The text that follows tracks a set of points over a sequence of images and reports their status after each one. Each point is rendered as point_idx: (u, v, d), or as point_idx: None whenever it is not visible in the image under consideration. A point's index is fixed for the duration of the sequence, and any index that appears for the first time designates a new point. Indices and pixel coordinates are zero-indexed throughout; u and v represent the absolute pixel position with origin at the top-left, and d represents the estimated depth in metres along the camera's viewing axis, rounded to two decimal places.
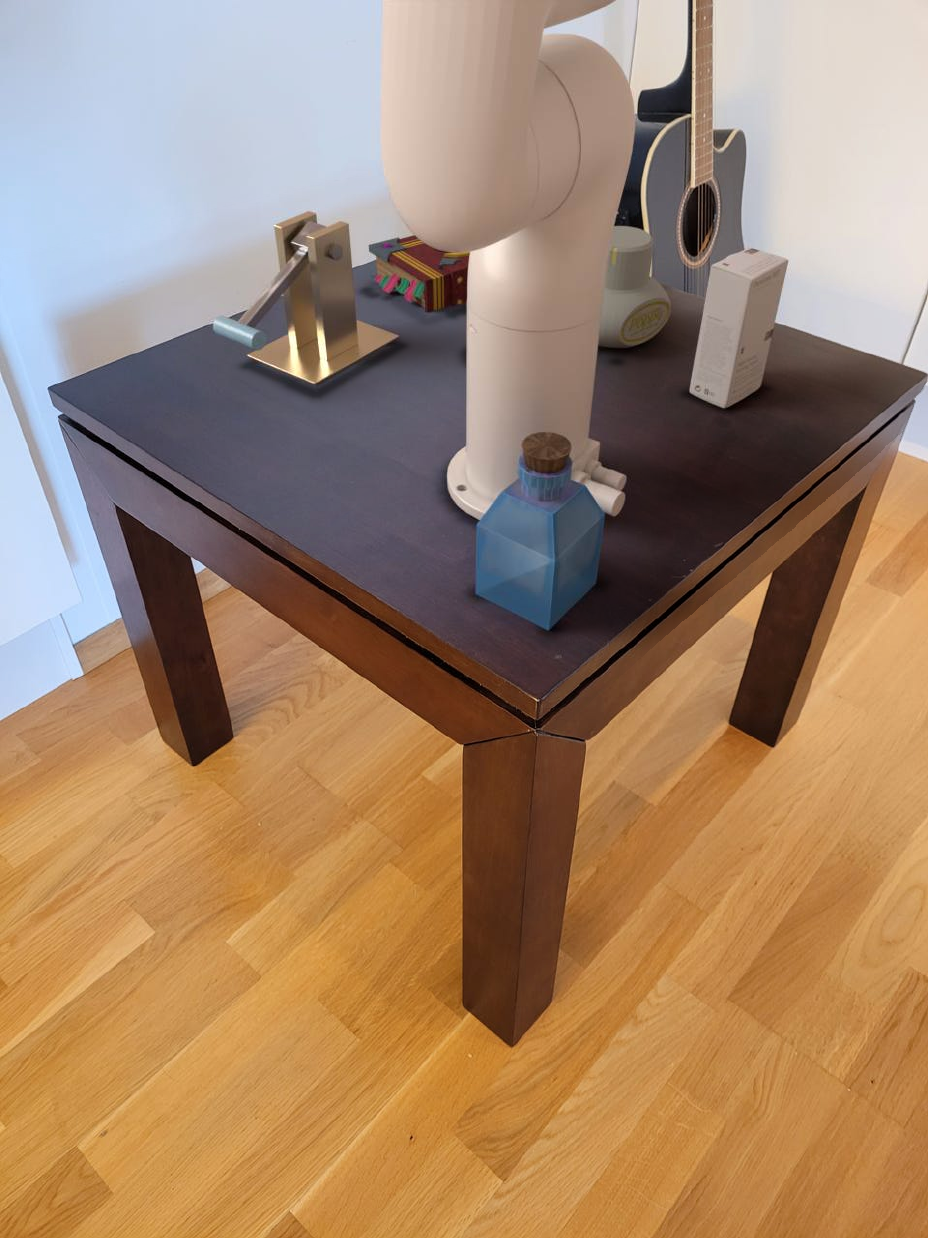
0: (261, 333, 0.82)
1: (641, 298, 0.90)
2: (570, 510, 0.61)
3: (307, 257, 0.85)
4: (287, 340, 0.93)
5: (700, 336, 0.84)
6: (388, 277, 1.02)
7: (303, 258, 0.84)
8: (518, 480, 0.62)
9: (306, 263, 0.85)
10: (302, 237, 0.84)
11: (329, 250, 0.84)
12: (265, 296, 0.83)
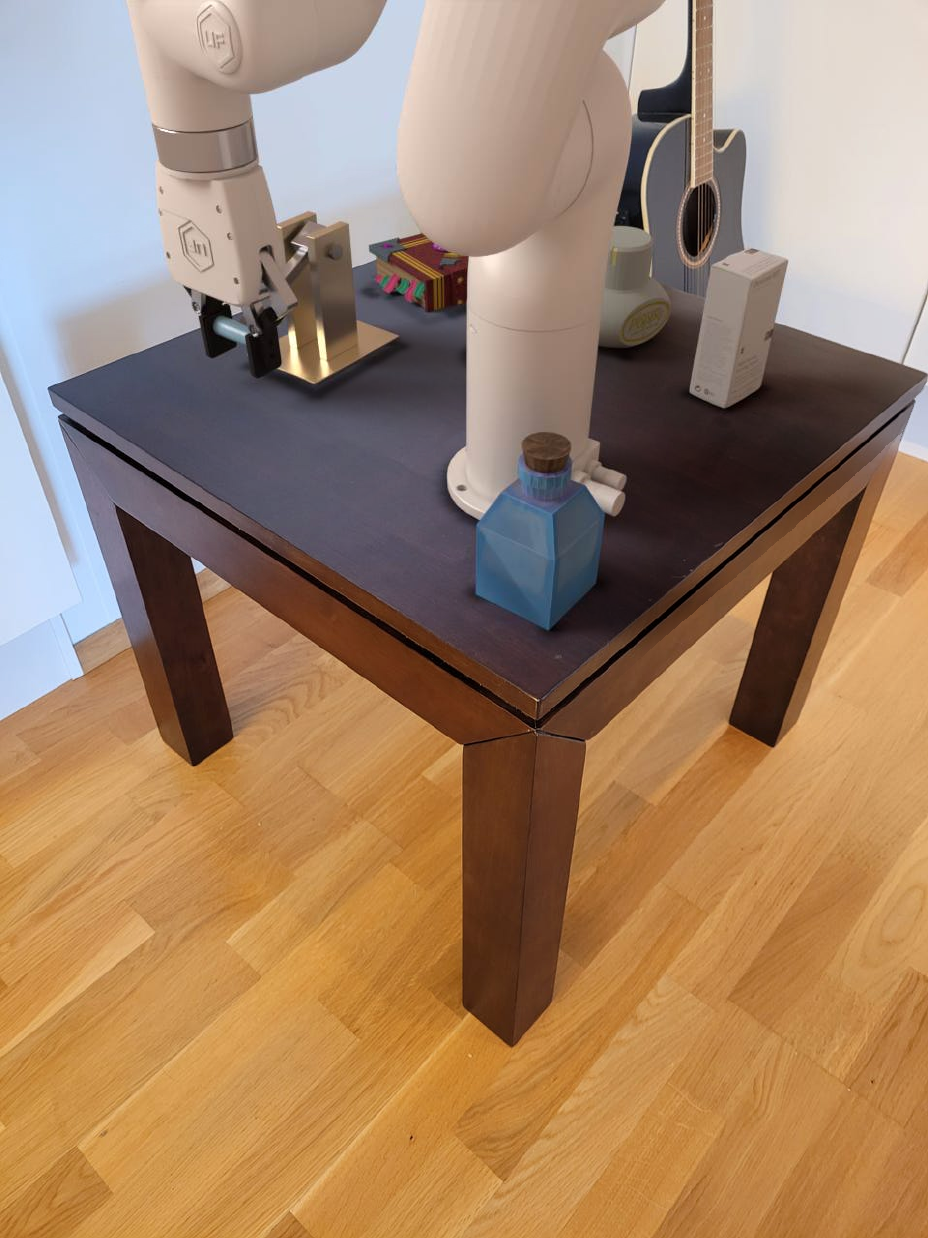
0: None
1: (641, 298, 0.90)
2: (570, 510, 0.61)
3: (307, 257, 0.85)
4: (287, 340, 0.93)
5: (700, 336, 0.84)
6: (388, 277, 1.02)
7: (303, 258, 0.84)
8: (518, 480, 0.62)
9: (306, 263, 0.85)
10: (302, 237, 0.84)
11: (329, 250, 0.84)
12: None
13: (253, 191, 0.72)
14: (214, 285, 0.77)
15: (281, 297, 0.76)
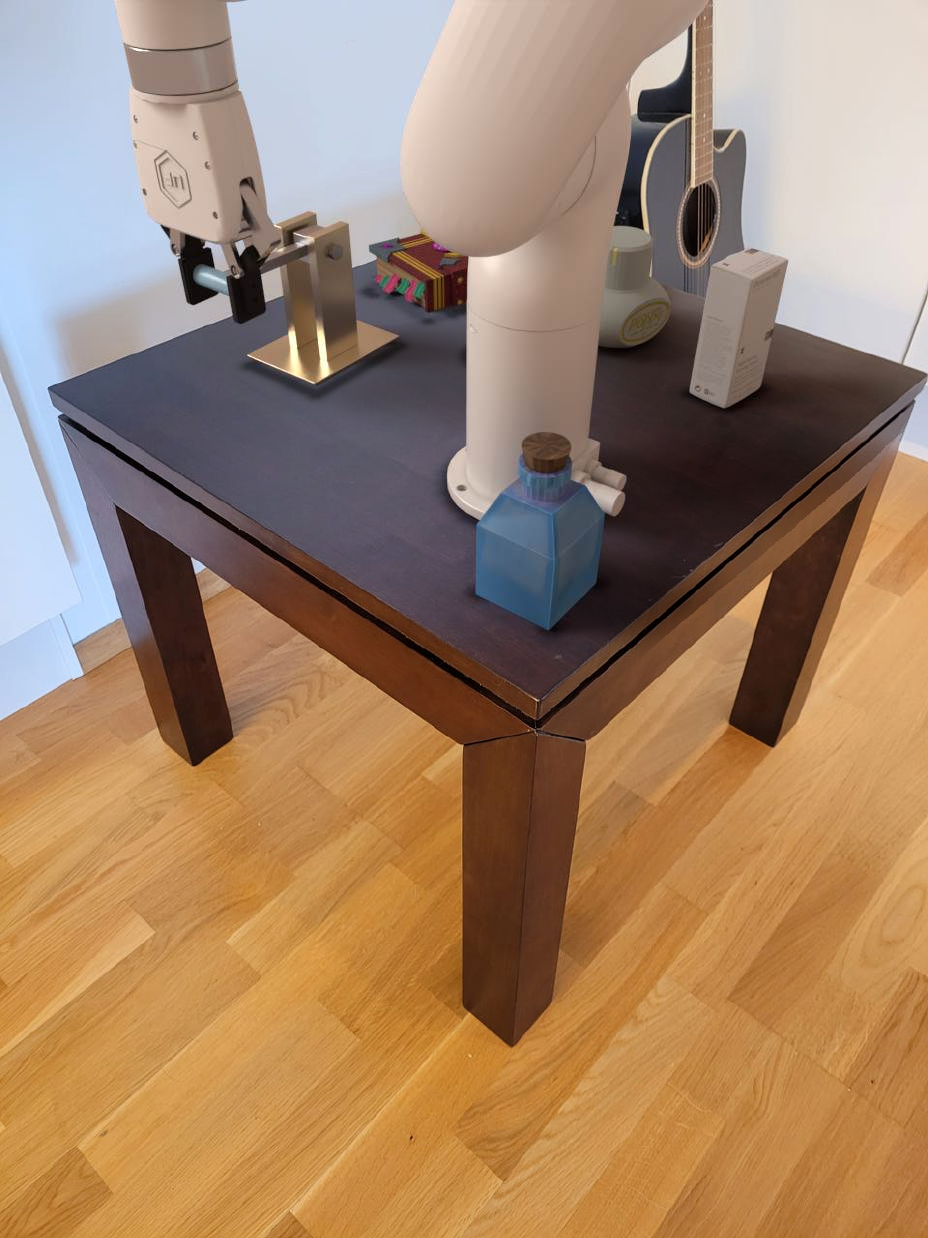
0: None
1: (641, 298, 0.90)
2: (570, 510, 0.61)
3: (305, 250, 0.84)
4: (287, 340, 0.93)
5: (700, 336, 0.84)
6: (388, 277, 1.02)
7: (301, 247, 0.84)
8: (518, 480, 0.62)
9: (302, 255, 0.84)
10: (305, 231, 0.84)
11: (329, 250, 0.84)
12: None
13: (232, 116, 0.68)
14: (192, 221, 0.73)
15: (263, 233, 0.72)
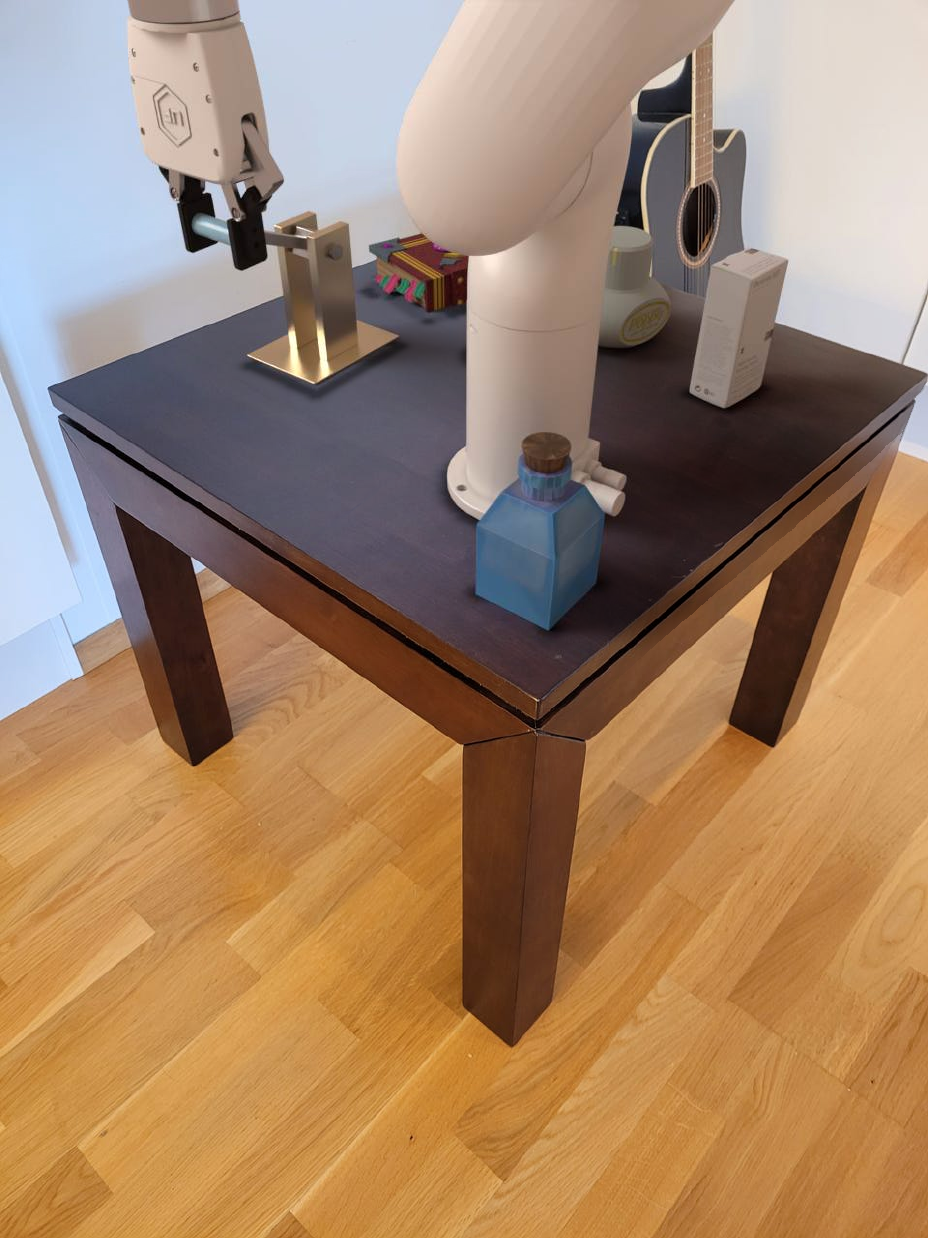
0: None
1: (641, 298, 0.90)
2: (570, 510, 0.61)
3: (305, 243, 0.84)
4: (287, 340, 0.93)
5: (700, 336, 0.84)
6: (388, 277, 1.02)
7: (303, 238, 0.83)
8: (518, 480, 0.62)
9: (302, 247, 0.84)
10: (309, 228, 0.85)
11: (329, 250, 0.84)
12: None
13: (233, 47, 0.66)
14: (192, 160, 0.70)
15: (265, 172, 0.70)
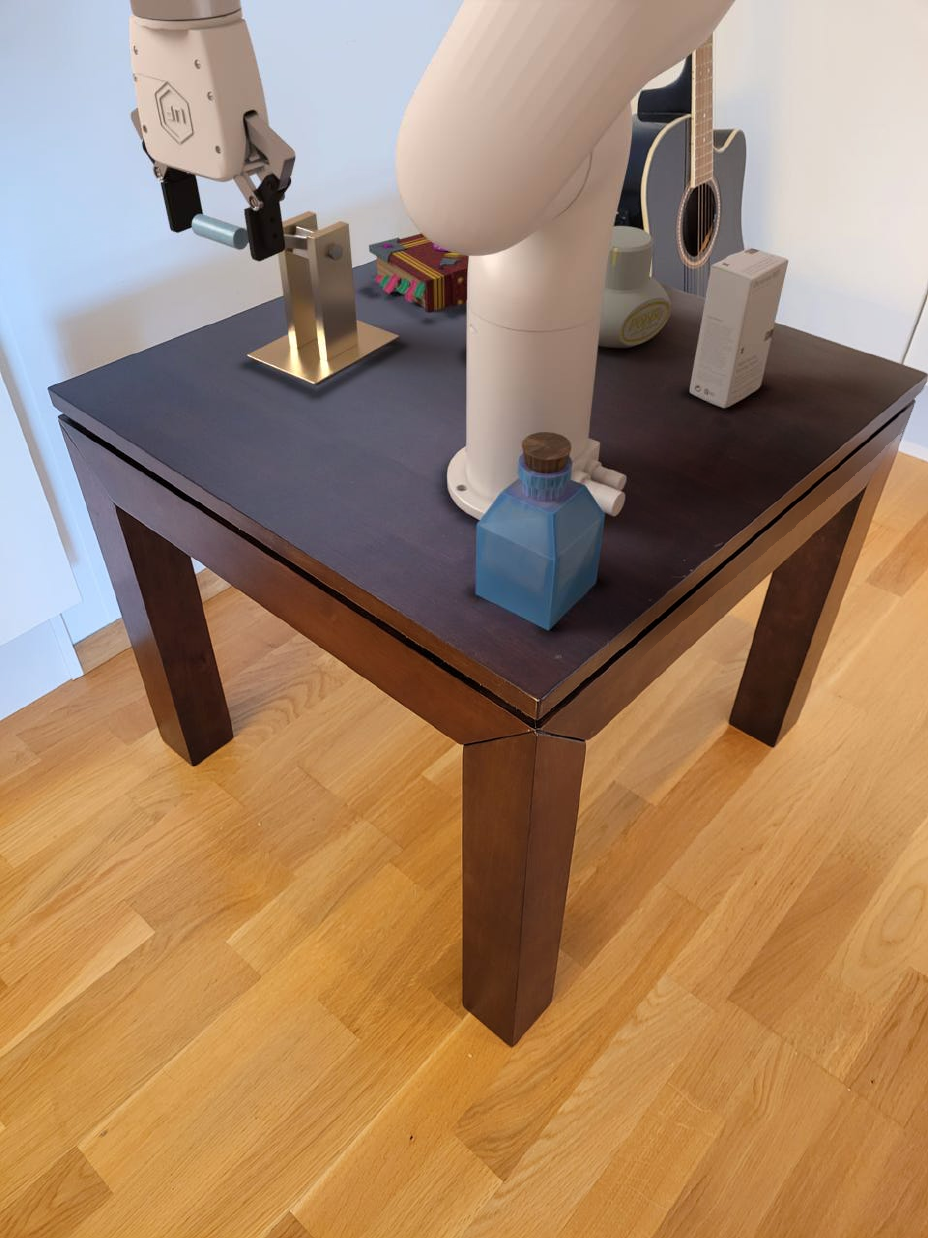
0: (247, 235, 0.76)
1: (641, 298, 0.90)
2: (570, 510, 0.61)
3: (305, 243, 0.84)
4: (287, 340, 0.93)
5: (700, 336, 0.84)
6: (388, 277, 1.02)
7: (303, 239, 0.83)
8: (518, 480, 0.62)
9: (302, 247, 0.84)
10: (309, 229, 0.85)
11: (329, 250, 0.84)
12: None
13: (235, 44, 0.65)
14: (194, 157, 0.70)
15: (274, 149, 0.68)
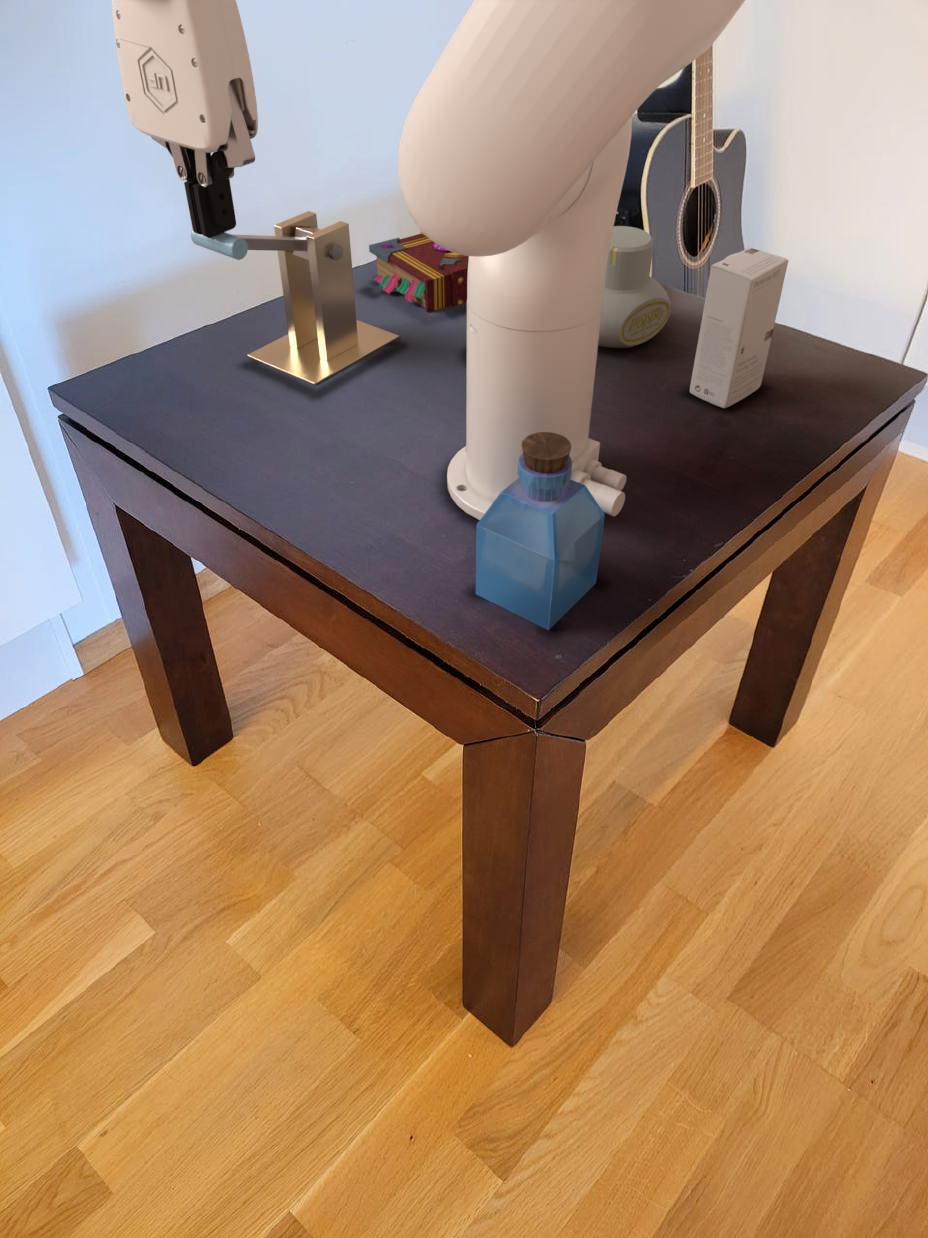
0: (245, 244, 0.76)
1: (641, 298, 0.90)
2: (570, 510, 0.61)
3: (305, 244, 0.84)
4: (287, 340, 0.93)
5: (700, 336, 0.84)
6: (388, 277, 1.02)
7: (302, 240, 0.84)
8: (518, 480, 0.62)
9: (302, 248, 0.84)
10: (308, 229, 0.85)
11: (329, 250, 0.84)
12: (257, 236, 0.80)
13: (220, 9, 0.64)
14: (178, 127, 0.68)
15: (239, 150, 0.69)
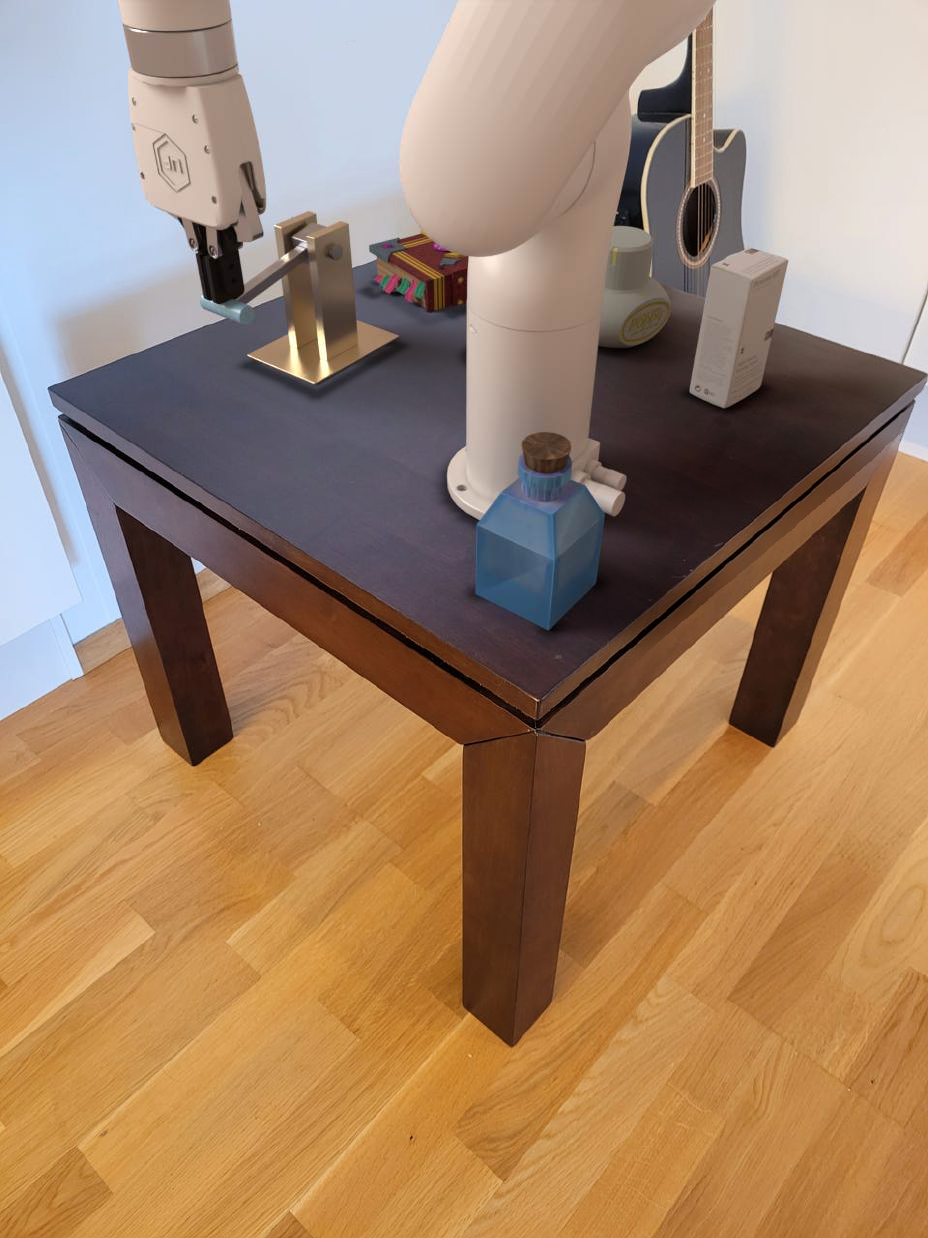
0: (250, 308, 0.79)
1: (641, 298, 0.90)
2: (570, 510, 0.61)
3: (306, 253, 0.85)
4: (287, 340, 0.93)
5: (700, 336, 0.84)
6: (388, 277, 1.02)
7: (302, 252, 0.84)
8: (518, 480, 0.62)
9: (304, 259, 0.85)
10: (304, 234, 0.84)
11: (329, 250, 0.84)
12: (259, 279, 0.82)
13: (232, 100, 0.67)
14: (191, 205, 0.72)
15: (248, 227, 0.73)
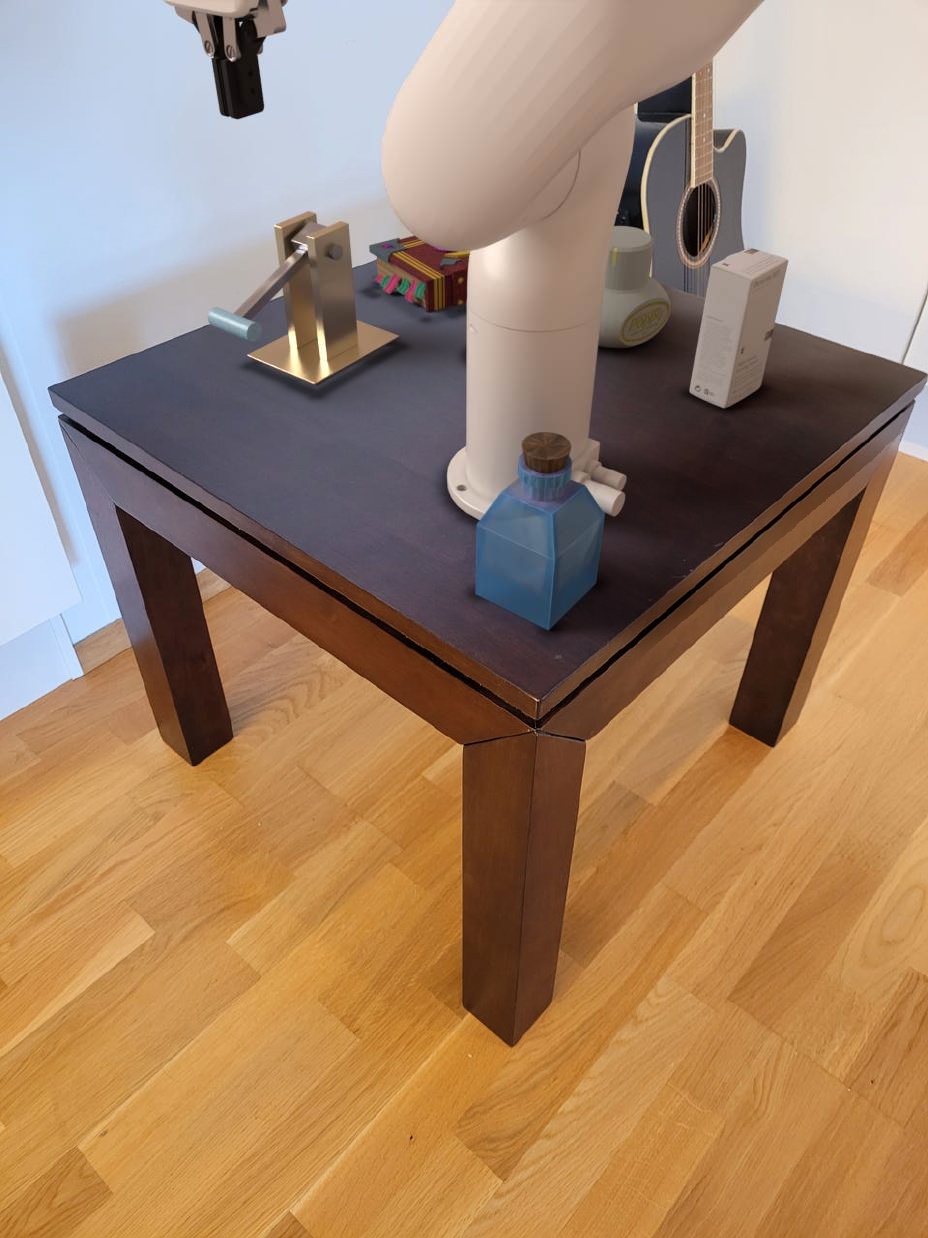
0: (257, 325, 0.81)
1: (641, 298, 0.90)
2: (570, 510, 0.61)
3: (306, 256, 0.85)
4: (287, 340, 0.93)
5: (700, 336, 0.84)
6: (389, 277, 1.02)
7: (302, 256, 0.84)
8: (518, 480, 0.62)
9: (305, 262, 0.85)
10: (303, 236, 0.84)
11: (329, 250, 0.84)
12: (262, 290, 0.83)
13: None
14: None
15: (270, 16, 0.66)
